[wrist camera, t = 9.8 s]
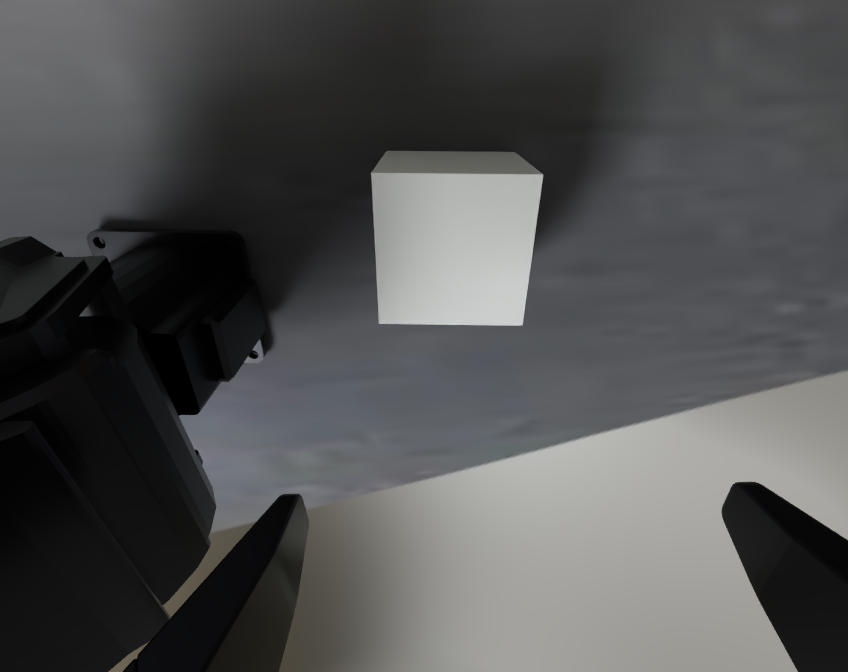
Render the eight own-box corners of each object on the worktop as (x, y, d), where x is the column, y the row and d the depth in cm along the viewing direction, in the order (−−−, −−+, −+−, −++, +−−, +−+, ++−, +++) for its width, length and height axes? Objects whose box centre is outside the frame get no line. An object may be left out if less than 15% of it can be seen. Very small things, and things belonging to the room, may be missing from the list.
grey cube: (390, 270, 19) (379, 323, 15) (386, 150, 17) (371, 172, 12) (501, 271, 19) (522, 325, 15) (514, 151, 17) (543, 174, 12)
